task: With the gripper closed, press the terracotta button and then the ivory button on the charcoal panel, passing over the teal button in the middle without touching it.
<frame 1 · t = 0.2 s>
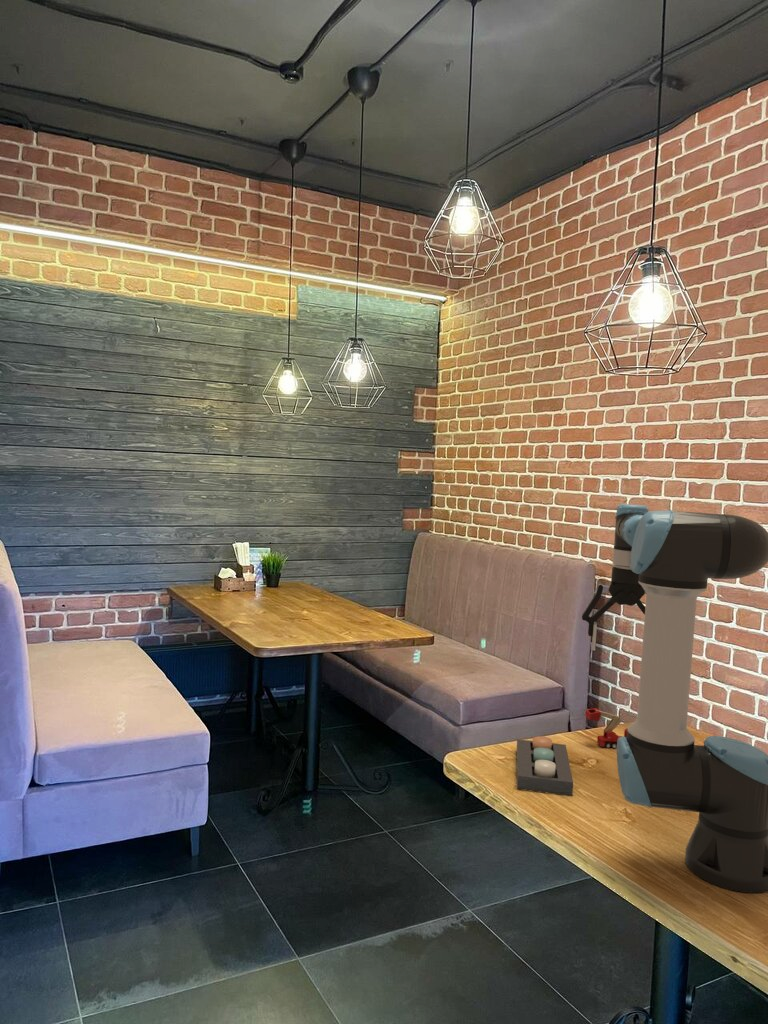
hand: (621, 652, 187), 28 cm above the table, fingers open, 13 cm apart
button ivory: (544, 770, 171), point 3 cm above the table, slide at 0.0 cm
panel: (542, 771, 179), on the table
toy fire truck: (610, 747, 200), on the table
button terracotta: (542, 745, 187), point 3 cm above the table, slide at 0.0 cm
button teal: (543, 757, 179), point 3 cm above the table, slide at 0.0 cm
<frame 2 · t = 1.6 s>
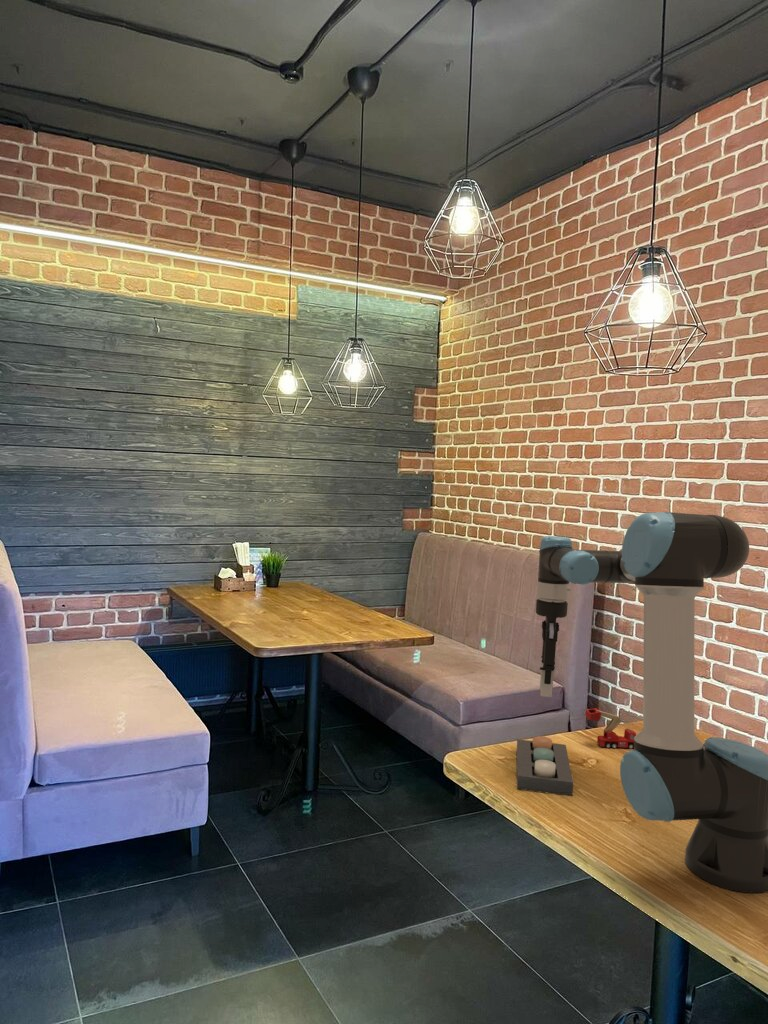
hand: (545, 693, 186), 17 cm above the table, fingers open, 4 cm apart
nothing on the table moved.
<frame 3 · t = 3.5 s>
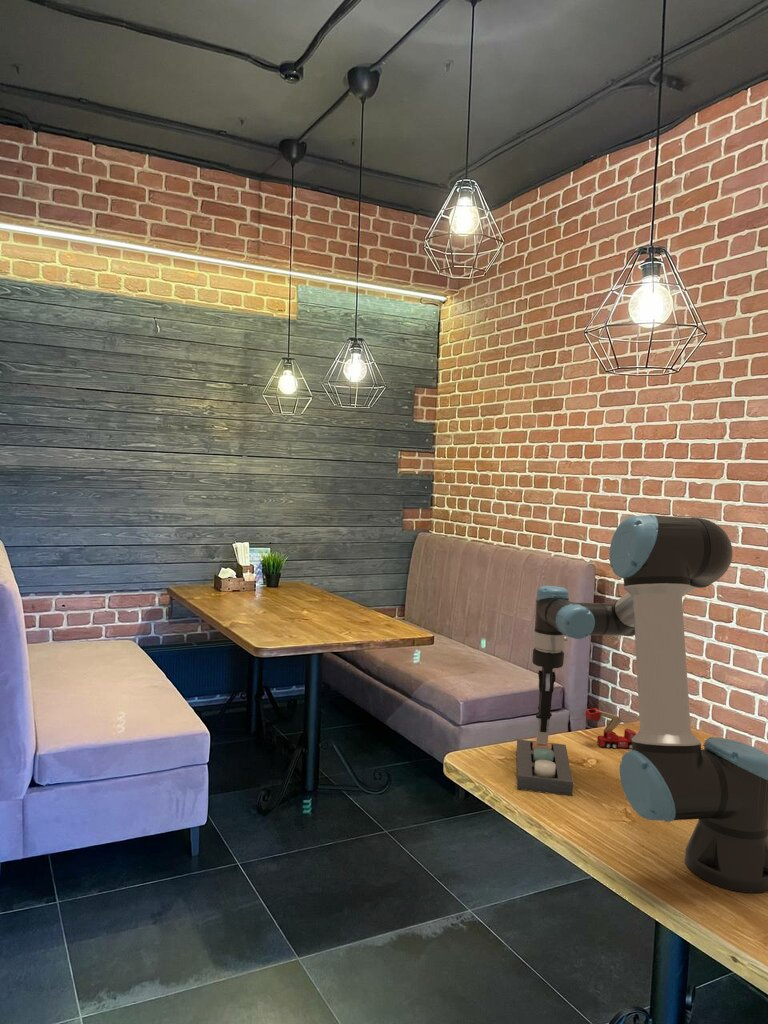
hand: (542, 743, 187), 4 cm above the table, fingers closed
button terracotta: (541, 750, 187), point 2 cm above the table, slide at 1.2 cm, touching gripper
everything else where it was.
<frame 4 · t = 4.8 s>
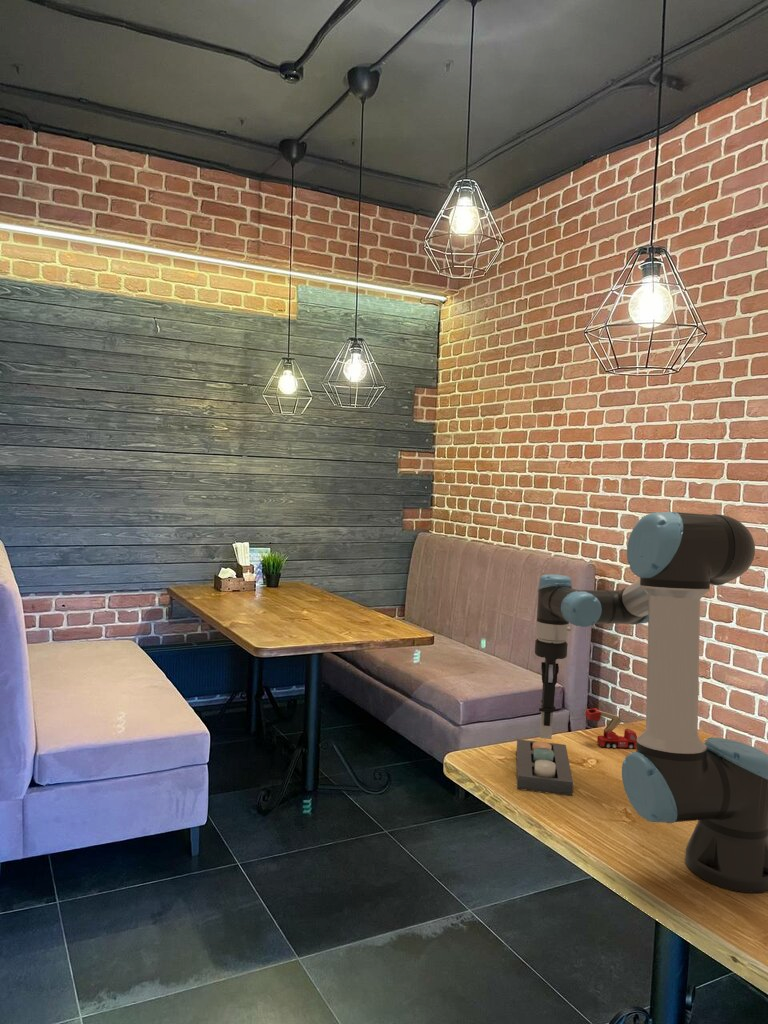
hand: (545, 737, 181), 8 cm above the table, fingers closed
button terracotta: (541, 750, 187), point 2 cm above the table, slide at 1.4 cm
everything else where it was.
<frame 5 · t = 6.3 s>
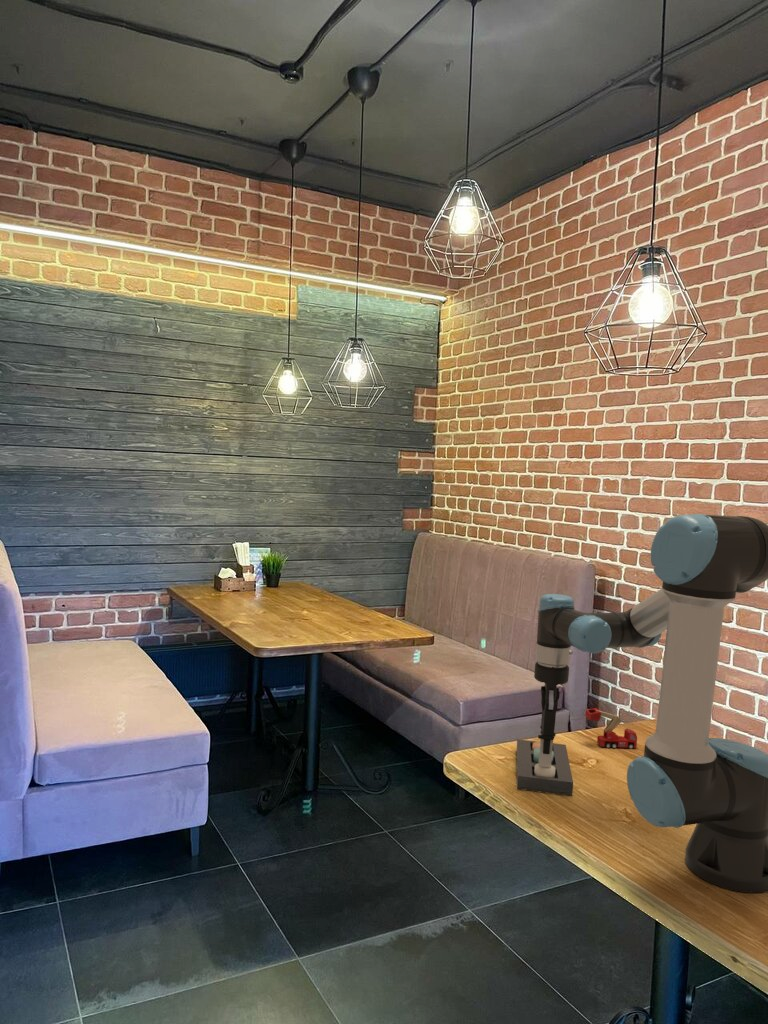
hand: (544, 765, 172), 4 cm above the table, fingers closed
button ivory: (544, 773, 171), point 3 cm above the table, slide at 0.8 cm, touching gripper
everything else where it was.
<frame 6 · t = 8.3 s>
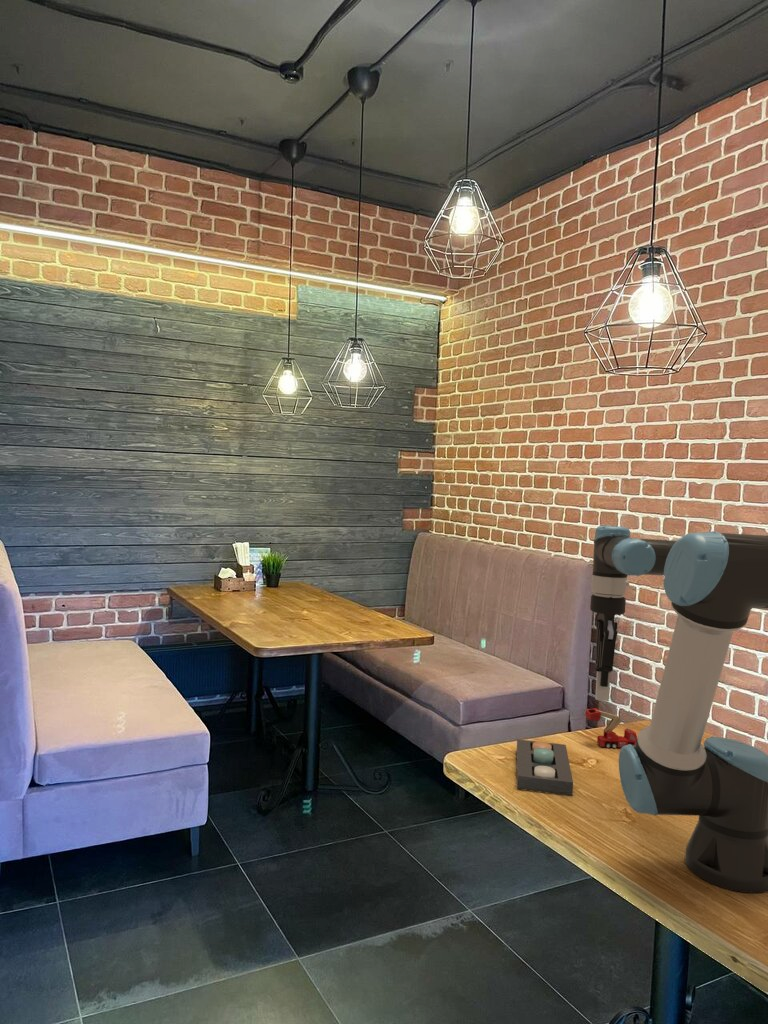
hand: (601, 699, 170), 21 cm above the table, fingers closed
button ivory: (544, 776, 171), point 2 cm above the table, slide at 1.4 cm
everything else where it was.
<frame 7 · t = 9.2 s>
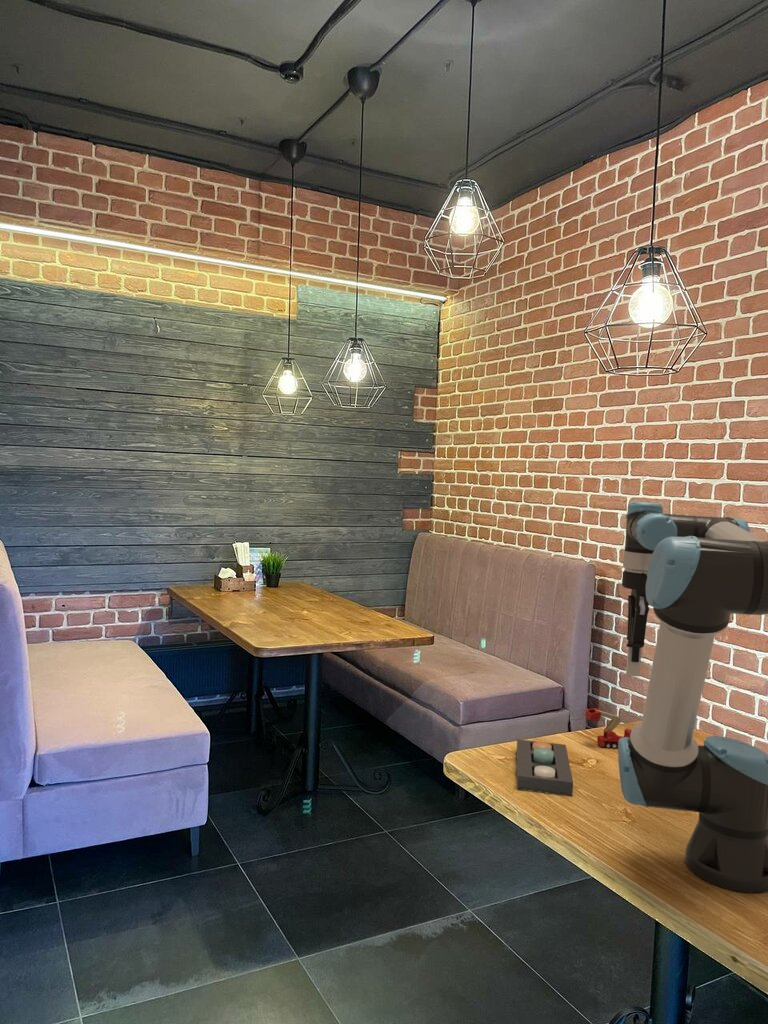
hand: (632, 675, 170), 26 cm above the table, fingers closed
nothing on the table moved.
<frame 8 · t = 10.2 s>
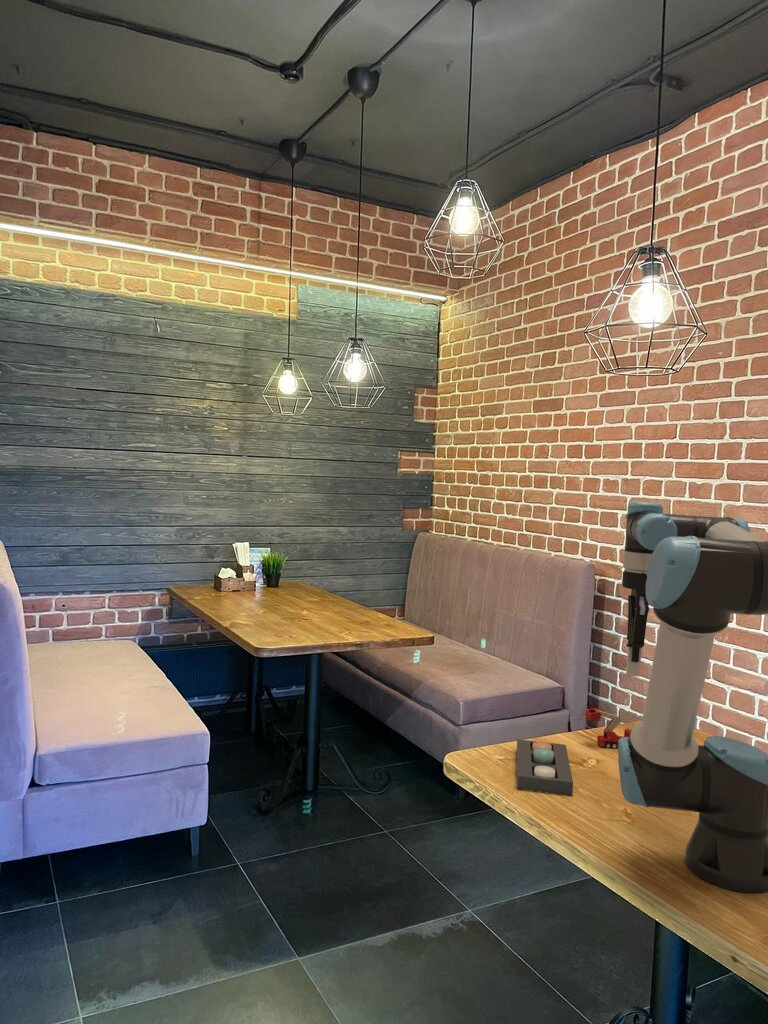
hand: (632, 675, 170), 26 cm above the table, fingers closed
nothing on the table moved.
at the end: button terracotta slide at 1.4 cm; button ivory slide at 1.4 cm; button teal slide at 0.0 cm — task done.
